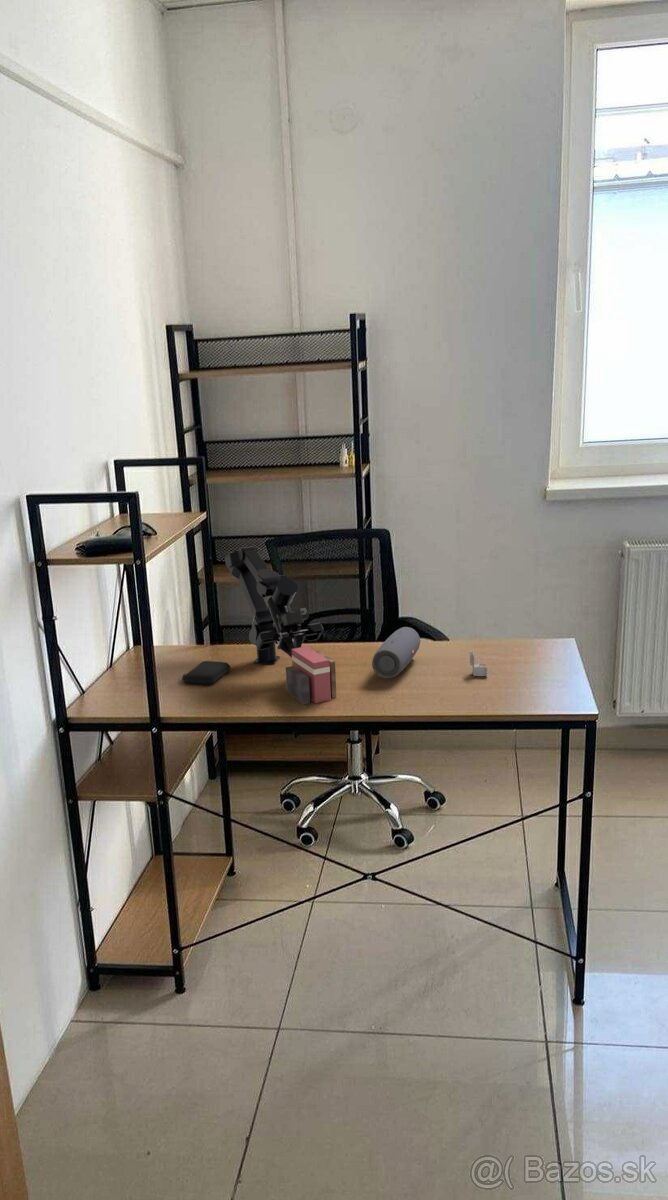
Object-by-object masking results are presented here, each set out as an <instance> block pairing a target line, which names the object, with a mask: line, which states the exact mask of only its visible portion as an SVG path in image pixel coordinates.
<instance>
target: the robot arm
mask: <svg viewBox="0 0 668 1200" xmlns="http://www.w3.org/2000/svg"><path fill="white" fill-rule="evenodd" d="M224 562H225V567H226V568H227V569H228V570H229V572H230V574H231V575H232V576H233V577H235V578H236V579H238V581H239V583H240V585H241V586H240V587H242V588H241V589H242V590H243V592H244V595H245V597H246V598H245V599H246V600H247V602H248V605H249V608H250V610H251V613H252V616H253V620H252V623H251V628H250V631H249V634H248V637H249V642H250V643H251V644H253V645H254V646H256V647H255V648H256V658H255V659H254V660H253V664H258V665H259V664H260V665H274V664H276V663H277V662H278V660H279V659H280V658H281V656H280V655H277V651H276V650H282V652H284V653H285V654H287V655H288V656H289V657H290V658H291V659H292V649H295V648H300V647H302V645H303V643H304V641H307V642H313V641H317V640H319V639H320V638H321V636H322V634H323V633H324V626H323V624H322V623H320V622H313V623H308V624H307V626H306V627H305V629H300V628H301V626H302V625H301V623H302V624H303V623H304V622H305V621H306V620H307V619H309V613H308V610H307V607H302V608H299V609H297V611H293V610H291V607H290V604H292V602H293V600H294V597H295V595H296V594H297V591H298V585H297V583H296V582H295V581H294V580H293V579H291V578H288V577H287V575H285V574H283V575H280V573H278V572H277V571H274V570H271V569H270V568H269V566H268V565H267V564H266V562H265V561H264V560H263V559H262V557H261V555H260V554H259V551H258V549H257V547H256V546H245V547H241V548H239V549H237V550H234V551H231V552H228V554H227V555H226V556H225V558H224ZM268 597H269V598H268ZM265 598H268V600H267V602H266V601H265ZM299 629H300V630H299ZM276 642H277V644H278V645H277V644H276ZM276 645H277V646H276ZM276 648H277V649H276Z"/></svg>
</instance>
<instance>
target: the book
mask: <svg viewBox="0 0 668 1200" xmlns="http://www.w3.org/2000/svg"><path fill="white" fill-rule="evenodd" d="M315 651H316V650H313V649H312V648H310V647H309V646H307V645H306V646H301V647H300V648H295V649H292V658H291V663H292V665H291V666H293V667H295V668H296V669H297V670H299V671H300V672H302V673H303V674H305V675H306V676H308V677H309V691H310V701H311V702H313V703H314V704H317V703H318V704H319V703H323V702H329V701H331V700H332V697H331V689H330V664H329V660H328V659H327V658H325V657H323V656H322V655H320V654H319V653H317V652H315Z"/></svg>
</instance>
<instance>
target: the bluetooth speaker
mask: <svg viewBox="0 0 668 1200" xmlns="http://www.w3.org/2000/svg"><path fill="white" fill-rule="evenodd" d="M420 645H421V637H420V635H419V633H418V632H417V631H416V630H415V629H414V628H412V627H409V626H403V627H400V628H398V629H397V630H395V631H394V632H393V633H392V634H390V635H389V636H388V637H387V638H386V640H385V641H383V642H382V644H381V645H380V647H378V649H377V650H376V652H375V653H374V656H373V657H372V660H371V665H372V669H373V671H374V672H375V673H376V675H377V676H379V677H380V678H384V679H392V678H395V677H396V676H398V675H399V674H401V672H402V671H403V670H404V669H405V668H406V667H407V666H408V665H409V663H410V662H412V660H413V658H414V657H415V656H416V653H417V652H418V651H419V649H420Z"/></svg>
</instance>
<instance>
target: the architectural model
mask: <svg viewBox="0 0 668 1200" xmlns="http://www.w3.org/2000/svg"><path fill="white" fill-rule="evenodd" d="M486 660H487V659H486V658H480V659H479V658H478V660H477V661H478V662H477V663H478V664H475V654H474V651H473V650H471V651H469V664H470V666H472V668H471V670H472V671H471V672H472V676H473V675H474V676H486V677H487V678H488V667H487V665H486V663H487V662H486ZM480 661H484V663H480ZM474 676H473V677H474ZM486 677H485V678H486Z"/></svg>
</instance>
